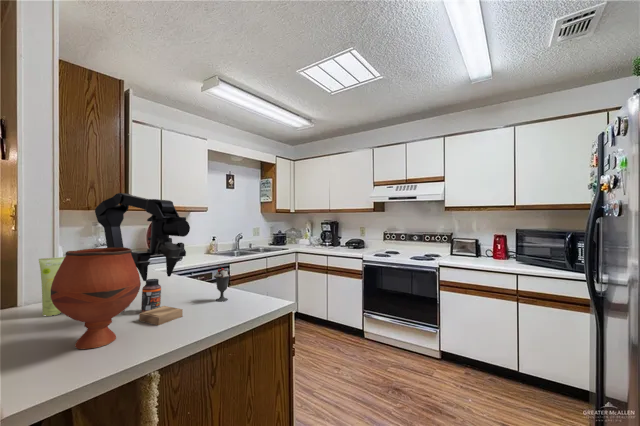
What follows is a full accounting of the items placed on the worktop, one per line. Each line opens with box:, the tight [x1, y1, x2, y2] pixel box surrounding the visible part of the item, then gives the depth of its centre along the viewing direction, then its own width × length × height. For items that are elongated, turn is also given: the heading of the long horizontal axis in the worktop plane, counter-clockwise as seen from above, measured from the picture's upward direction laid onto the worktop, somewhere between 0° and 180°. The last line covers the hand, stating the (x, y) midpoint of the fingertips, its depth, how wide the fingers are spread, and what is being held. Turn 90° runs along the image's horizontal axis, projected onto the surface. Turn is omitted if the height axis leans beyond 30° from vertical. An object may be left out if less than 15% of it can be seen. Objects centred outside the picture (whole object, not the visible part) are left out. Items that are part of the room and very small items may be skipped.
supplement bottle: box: [140, 278, 162, 313], centre depth 101 cm, size 6×6×11 cm
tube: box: [38, 256, 65, 317], centre depth 96 cm, size 6×5×20 cm
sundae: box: [213, 264, 232, 303], centre depth 117 cm, size 7×7×15 cm
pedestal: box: [138, 305, 184, 326], centre depth 94 cm, size 9×9×3 cm
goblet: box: [51, 246, 142, 350], centre depth 76 cm, size 19×19×25 cm
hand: (157, 278), depth 99 cm, fingers open, 9 cm apart
